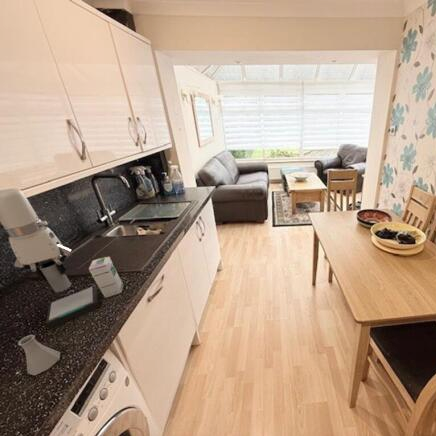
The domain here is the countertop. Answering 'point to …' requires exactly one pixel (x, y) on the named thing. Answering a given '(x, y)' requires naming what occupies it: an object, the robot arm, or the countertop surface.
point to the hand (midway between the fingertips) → (55, 274)
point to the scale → (72, 306)
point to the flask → (38, 355)
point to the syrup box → (106, 276)
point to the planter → (55, 276)
